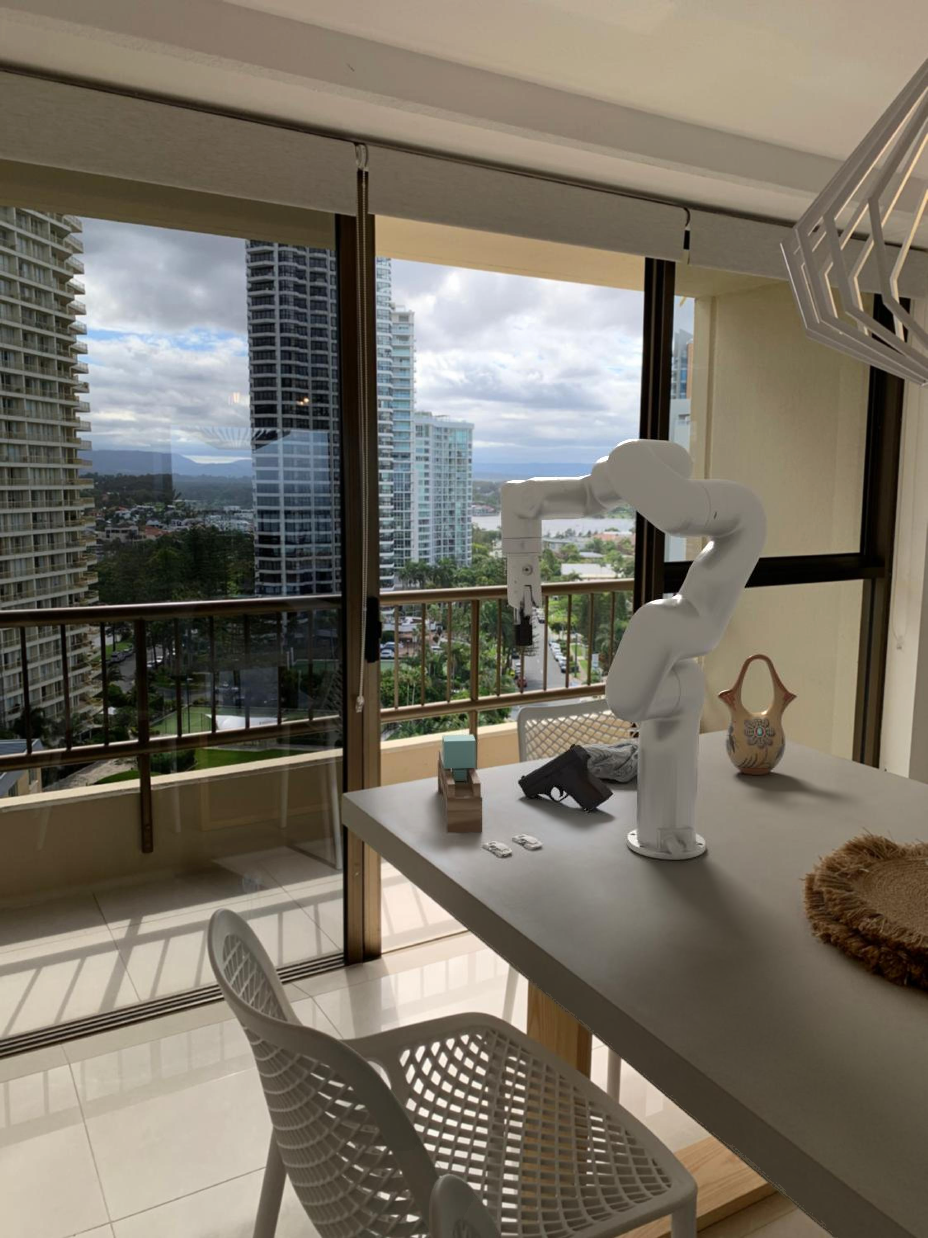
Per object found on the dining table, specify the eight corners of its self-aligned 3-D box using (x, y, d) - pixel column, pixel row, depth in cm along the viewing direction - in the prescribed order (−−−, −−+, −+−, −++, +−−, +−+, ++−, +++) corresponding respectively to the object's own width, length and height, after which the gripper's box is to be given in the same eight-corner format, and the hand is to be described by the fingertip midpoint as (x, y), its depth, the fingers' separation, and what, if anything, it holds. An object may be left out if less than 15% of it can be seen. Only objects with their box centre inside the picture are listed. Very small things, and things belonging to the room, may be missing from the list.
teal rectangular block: (475, 781, 165) (475, 740, 164) (444, 782, 164) (444, 741, 163) (473, 774, 169) (472, 734, 168) (442, 775, 168) (442, 735, 168)
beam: (483, 831, 157) (483, 784, 156) (446, 833, 157) (446, 785, 156) (469, 788, 181) (468, 747, 180) (437, 789, 180) (436, 748, 179)
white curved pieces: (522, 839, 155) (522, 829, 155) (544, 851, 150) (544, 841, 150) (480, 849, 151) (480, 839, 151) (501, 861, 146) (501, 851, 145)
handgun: (606, 801, 164) (573, 742, 167) (544, 836, 173) (513, 780, 176) (615, 796, 167) (582, 739, 170) (553, 831, 176) (523, 776, 179)
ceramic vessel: (785, 766, 195) (789, 649, 192) (801, 778, 186) (806, 656, 183) (708, 767, 195) (711, 650, 192) (721, 779, 186) (725, 657, 183)
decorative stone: (559, 756, 192) (579, 713, 191) (607, 770, 199) (626, 728, 198) (599, 787, 180) (620, 741, 179) (648, 800, 187) (669, 756, 186)
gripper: (550, 548, 164) (552, 649, 166) (533, 546, 179) (534, 639, 181) (509, 549, 163) (511, 651, 165) (495, 547, 178) (497, 641, 180)
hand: (523, 645), depth 173 cm, fingers closed
